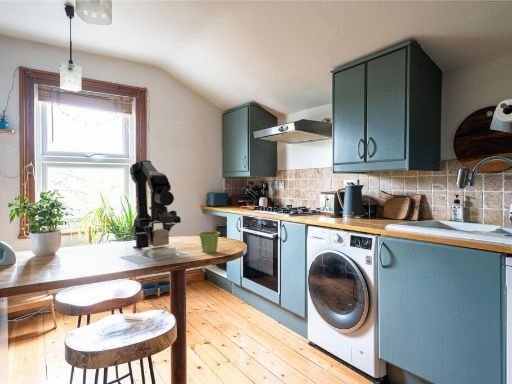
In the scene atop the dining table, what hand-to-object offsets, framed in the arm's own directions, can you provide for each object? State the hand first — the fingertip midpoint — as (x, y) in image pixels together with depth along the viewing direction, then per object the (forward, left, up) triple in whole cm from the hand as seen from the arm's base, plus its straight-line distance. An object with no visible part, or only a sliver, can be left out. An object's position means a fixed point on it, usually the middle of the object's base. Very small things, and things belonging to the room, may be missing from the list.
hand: (158, 241), depth 130 cm
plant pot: (+10, +19, -6) cm, 22 cm away
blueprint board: (0, -2, -6) cm, 7 cm away
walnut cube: (0, 0, -1) cm, 1 cm away
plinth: (0, 0, -6) cm, 6 cm away
